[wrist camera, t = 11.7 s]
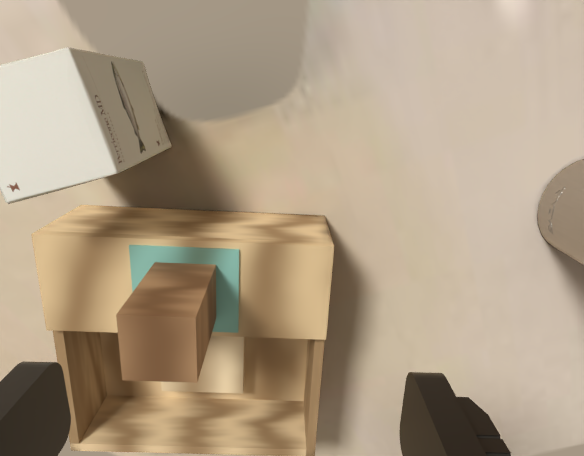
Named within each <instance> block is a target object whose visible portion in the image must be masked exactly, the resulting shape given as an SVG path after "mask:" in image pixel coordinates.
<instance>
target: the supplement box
mask: <svg viewBox="0 0 584 456" xmlns="http://www.w3.org/2000/svg"><path fill="white" fill-rule="evenodd" d="M169 148H171V143H170V140H169V138H168V135H167V133H166V130H165V127H164V125H163V122H162V119H161V116H160V114H159V111H158V108H157V105H156V102H155V99H154V95H153V92H152V89H151V86H150V83H149V80H148V77H147V73H146V70H145V66H144V63H143V62H142V61H138V60H133V59H127V58H121V57H115V56H110V55H105V54H100V53H95V52H90V51H85V50H79V49H74V48H69V47H66V48H63V49H60V50H56V51H53V52H49V53H45V54H41V55H37V56H33V57H29V58H25V59H21V60H17V61H13V62H9V63H5V64H1V65H0V191H1V193H2V195H3V197H4V200H5V201H6V203H8V204H10V203H14V202H18V201H22V200H25V199H29V198H33V197H37V196H40V195H44V194H48V193H51V192H55V191H59V190H62V189H66V188H69V187H73V186H76V185H80V184H83V183H87V182H90V181H94V180H97V179H100V178H104V177H107V176H111V175H114V174H118V173H120V172H122V171H124V170H126V169H128V168H130V167H132V166H134V165H137V164H139V163H141V162H143V161H145V160H147V159H149V158H150V157H152V156H154V155H157V154H159V153H161V152H163V151H165V150H167V149H169Z"/></svg>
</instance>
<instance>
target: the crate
mask: <svg viewBox="0 0 584 456" xmlns="http://www.w3.org/2000/svg"><path fill="white" fill-rule="evenodd" d="M31 235H32V242H33V248H34V254H35V261H36V267H37V273H38V280H39V286H40V292H41V298H42V305H43V311H44V317H45V324H46V330H53V335H54V342H55V348H56V355H57V361H58V363H59V364H60V365H61V367H62V369H63V374H64V379H65V385H66V391H67V397H68V402H69V408H70V414H71V425H70V431H69V440H70V446H71V450H72V451H73V450H74V451H112V452H152V453H193V454H233V455H273V456H315V444H316V433H317V421H318V410H319V398H320V387H321V375H322V364H323V353H324V341H325V340H326V334H327V323H328V312H329V300H330V289H331V278H332V267H333V255H334V244H333V241H332V238H331V234H330V231H329V228H328V225H327V221H326V218H325V216H321V215H298V214H275V213H252V212H229V211H206V210H183V209H160V208H137V207H113V206H90V205H80V206H79V207H77V208H75V209H73V210H72V211H70V212H68V213H67V214H65V215H63V216H62V217H60V218H58V219H56V220H55V221H53V222H51V223H50V224H48V225H46V226H44V227H43V228H41V229H39V230H38V231H36V232H34V233H33V234H31ZM155 262H162V263H188V264H213V265H216V321H215V324H214V328H213V331H212V334H211V338H210V341H209V345H208V348H207V352H206V355H205V358H204V362H203V365H202V369H201V372H200V375H199V379H198V382H197V383H191V382H158V381H126V380H122V372H121V361H120V351H119V340H118V330H117V319H116V314H117V313H118V312H119V310H120V309H121V307H122V306H123V305H124V303H125V302H126V301H127V299H128V298H129V297H130V295H131V294H132V292H133V291H134V290H135V288H136V287H137V286H138V284H139V283H140V282H141V280H142V279H143V278H144V276H145V275H146V273H147V272H148V271H149V269H150V268H151V267H152V265H153V264H154V263H155Z"/></svg>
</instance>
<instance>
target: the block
mask: <svg viewBox="0 0 584 456" xmlns="http://www.w3.org/2000/svg"><path fill="white" fill-rule="evenodd" d="M116 319H117V330H118V340H119V351H120V361H121V372H122V380H126V381H158V382H191V383H197V382H198V379H199V375H200V372H201V369H202V365H203V362H204V358H205V355H206V352H207V348H208V345H209V341H210V338H211V334H212V331H213V328H214V324H215V321H216V265H213V264H188V263H162V262H155V263H154V264H153V265H152V267H151V268H150V269H149V271H148V272H147V273H146V275H145V276H144V278H143V279H142V280H141V282H140V283H139V284H138V286H137V287H136V288H135V290H134V291H133V292H132V294H131V295H130V297H129V298H128V299H127V301H126V302H125V303H124V305H123V306H122V307H121V309H120V310H119V312H118V313H117V314H116Z"/></svg>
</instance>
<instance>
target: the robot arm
mask: <svg viewBox="0 0 584 456" xmlns="http://www.w3.org/2000/svg"><path fill="white" fill-rule="evenodd" d="M537 216H538V225H539V228H540V231H541V234H542V235H543V237H544V238H545V240H546V241H547V242H548V243H549V244H551V245H552V246H553V247H555V248H556V249H558V250H560V251H561V252H563V253H565V254H566V255H568V256H570V257H571V258H573V259H575V260H576V261H578V262H579V263H581V264H582V265H584V159H582V160H580V161H577V162H575V163H573V164H571V165H569V166H568V167H566V168H564V169H563V170H562V171H561V172H560V173H558V174H557V175H556V176H555V177H554V178H553V179H552V181H551V182H550V183H549V184H548V186H547V187H546V189H545V191H544V192H543V194H542V197H541V200H540V202H539V206H538V214H537ZM70 425H71V414H70V408H69V402H68V397H67V391H66V385H65V379H64V374H63V369H62V367H61V365H60V364H59V363H57V362H21V363H19V364H18V365H17V366H16V367H15V368H14V369H13V370H12V371H11V372H10V373H9V374H8V375H7V376H6V377H5V378H4V379H3V380H2V381H1V382H0V456H58V454H59V453H60V451H61V449H62V448H63V446H64V444H65V442H66V440H67V438H68V434H69V431H70ZM400 444H401V450H402V455H403V456H511V455H510V451H509V449H508V448H507V446H506V444H505V443H504V441H503V440H502V439H500V434H499V433H498V431H497V429H496V428H495V426H494V424H493V423H492V421H491V419H490V418H489V416H488V414H486V413H485V412H484V411H483V410H482V409H481V408H480V407H479V406H477V405H476V404H475V403H474V402H473V401H472V400H471V399H470V398H469V397H456V396H455V394H454V392H453V390H452V388H451V386H450V384H449V383H448V381H447V379H446V377H445V376H444V374H442V373H416V372H410V373H408V375H407V378H406V384H405V392H404V399H403V407H402V414H401V422H400Z"/></svg>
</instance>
